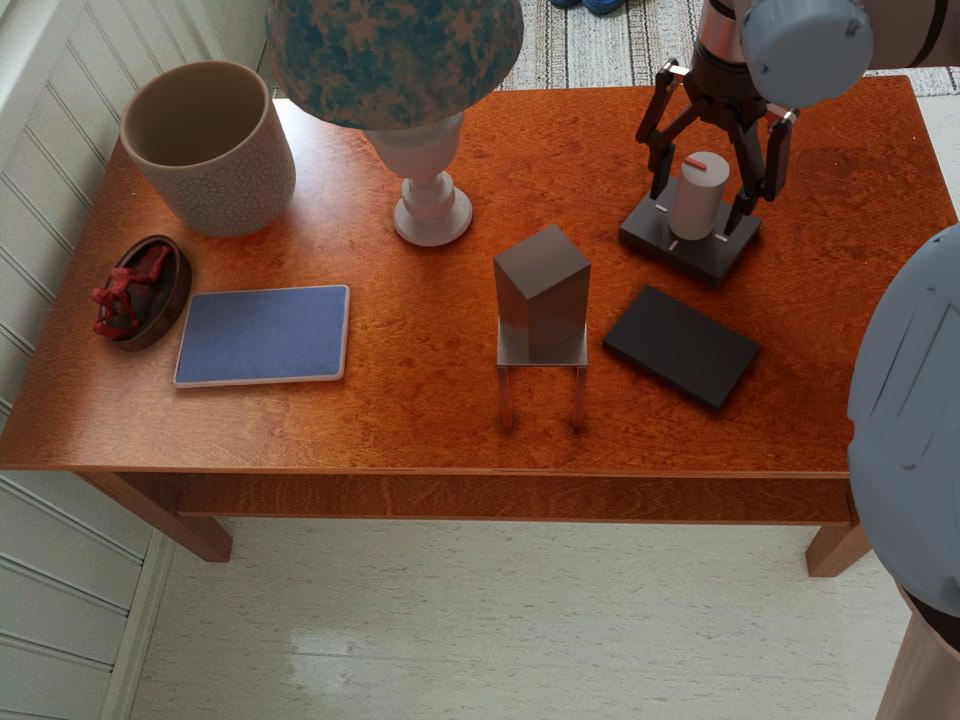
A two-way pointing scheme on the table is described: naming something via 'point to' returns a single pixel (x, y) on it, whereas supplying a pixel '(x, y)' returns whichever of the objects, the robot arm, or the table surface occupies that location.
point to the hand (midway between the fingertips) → (694, 209)
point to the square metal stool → (559, 356)
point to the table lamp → (399, 85)
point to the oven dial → (698, 195)
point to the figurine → (143, 294)
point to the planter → (211, 147)
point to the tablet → (264, 337)
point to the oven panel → (690, 256)
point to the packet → (542, 291)
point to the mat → (681, 347)
